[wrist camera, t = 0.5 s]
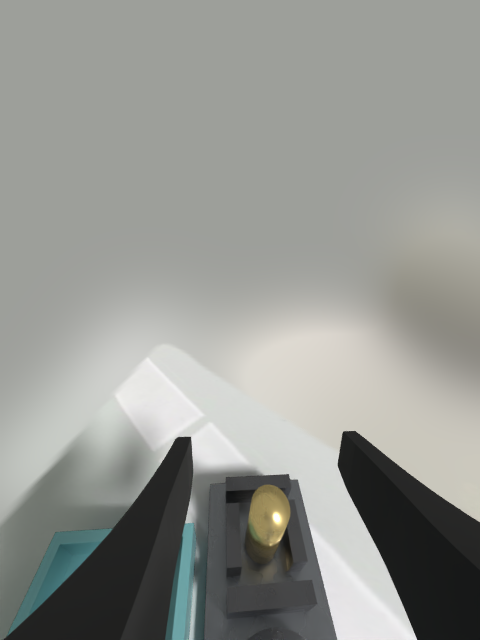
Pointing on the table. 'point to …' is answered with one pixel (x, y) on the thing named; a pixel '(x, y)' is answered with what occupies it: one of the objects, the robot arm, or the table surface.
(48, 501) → the table surface
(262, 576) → the plate
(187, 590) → the tray
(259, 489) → the pin
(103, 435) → the table surface
